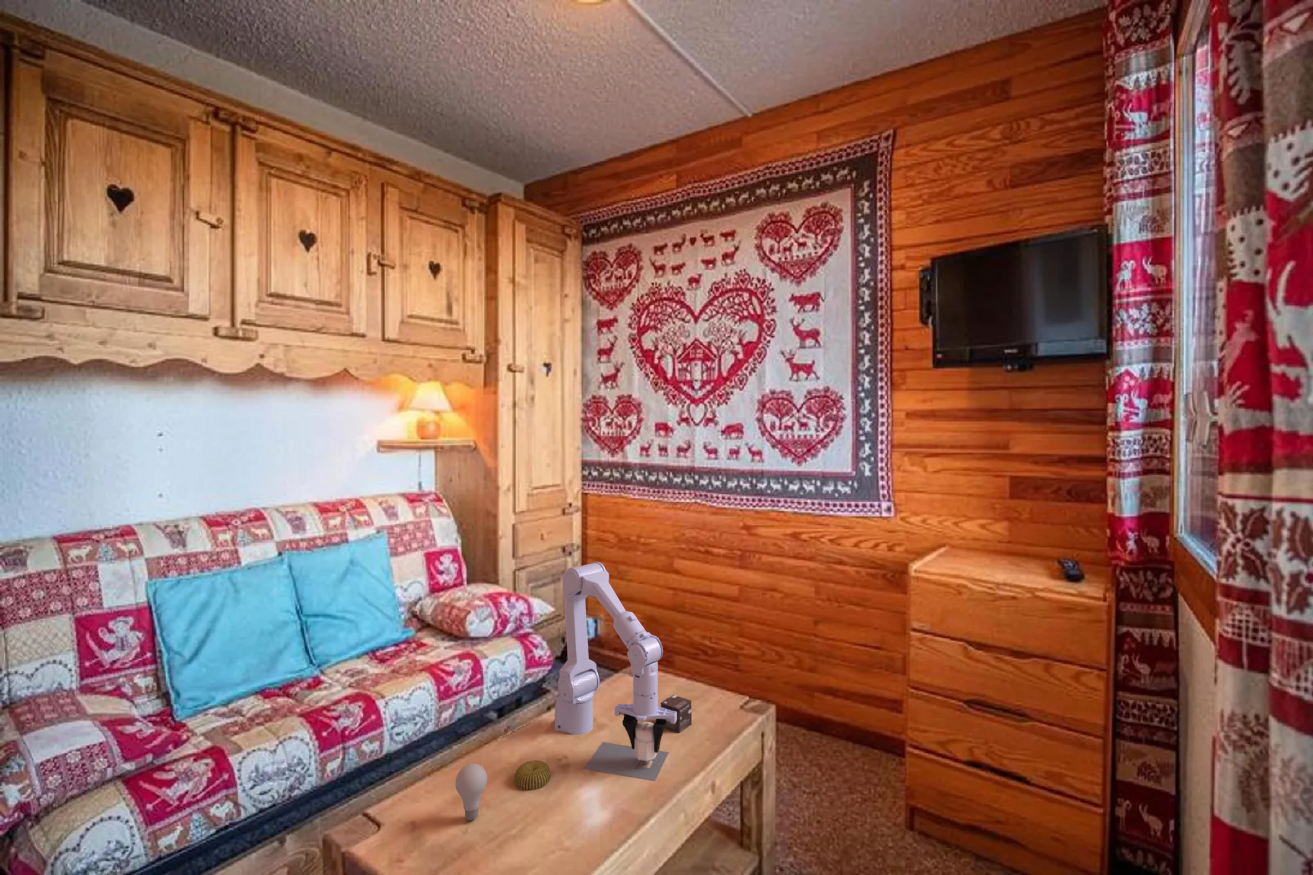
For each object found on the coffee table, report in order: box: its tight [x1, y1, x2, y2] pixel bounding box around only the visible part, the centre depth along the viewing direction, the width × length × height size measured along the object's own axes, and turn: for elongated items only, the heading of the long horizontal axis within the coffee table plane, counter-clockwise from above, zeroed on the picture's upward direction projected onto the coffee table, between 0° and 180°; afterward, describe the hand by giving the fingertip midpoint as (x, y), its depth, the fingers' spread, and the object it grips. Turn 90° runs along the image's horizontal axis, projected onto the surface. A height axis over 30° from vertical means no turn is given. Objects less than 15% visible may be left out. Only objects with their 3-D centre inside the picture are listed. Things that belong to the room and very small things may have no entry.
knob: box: [634, 721, 657, 761], centre depth 139 cm, size 5×5×7 cm
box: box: [660, 694, 693, 734], centre depth 156 cm, size 6×6×7 cm
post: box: [640, 760, 651, 765], centre depth 139 cm, size 2×2×5 cm
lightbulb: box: [454, 763, 488, 821], centre depth 121 cm, size 6×6×11 cm
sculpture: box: [513, 760, 552, 791], centre depth 133 cm, size 8×4×8 cm
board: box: [583, 741, 670, 782], centre depth 140 cm, size 17×12×1 cm
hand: (645, 748), depth 139 cm, fingers closed on knob, 5 cm apart
